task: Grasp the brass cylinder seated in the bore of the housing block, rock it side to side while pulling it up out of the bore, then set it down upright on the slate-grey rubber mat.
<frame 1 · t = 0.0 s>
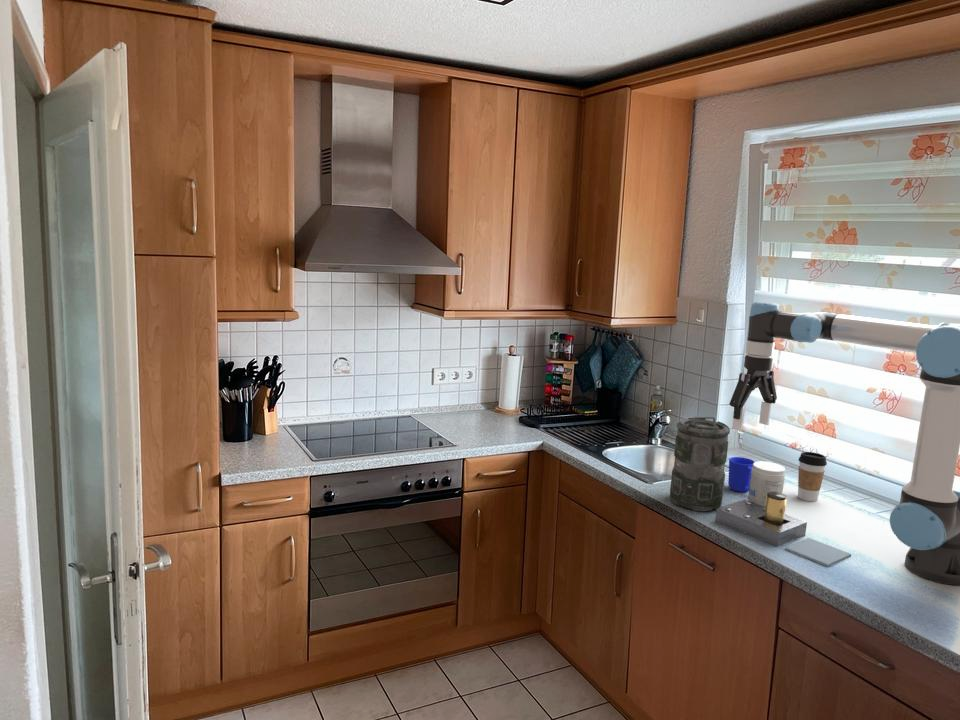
hand: (750, 426, 211), 28 cm above the worktop, fingers open, 13 cm apart
mug: (742, 492, 238), on the worktop
canister: (695, 503, 225), on the worktop
cylinder: (772, 531, 204), resting on housing
mat: (817, 552, 193), on the worktop
coffee cup: (807, 498, 234), on the worktop
housing: (759, 528, 207), on the worktop
supplement tub: (763, 512, 221), on the worktop
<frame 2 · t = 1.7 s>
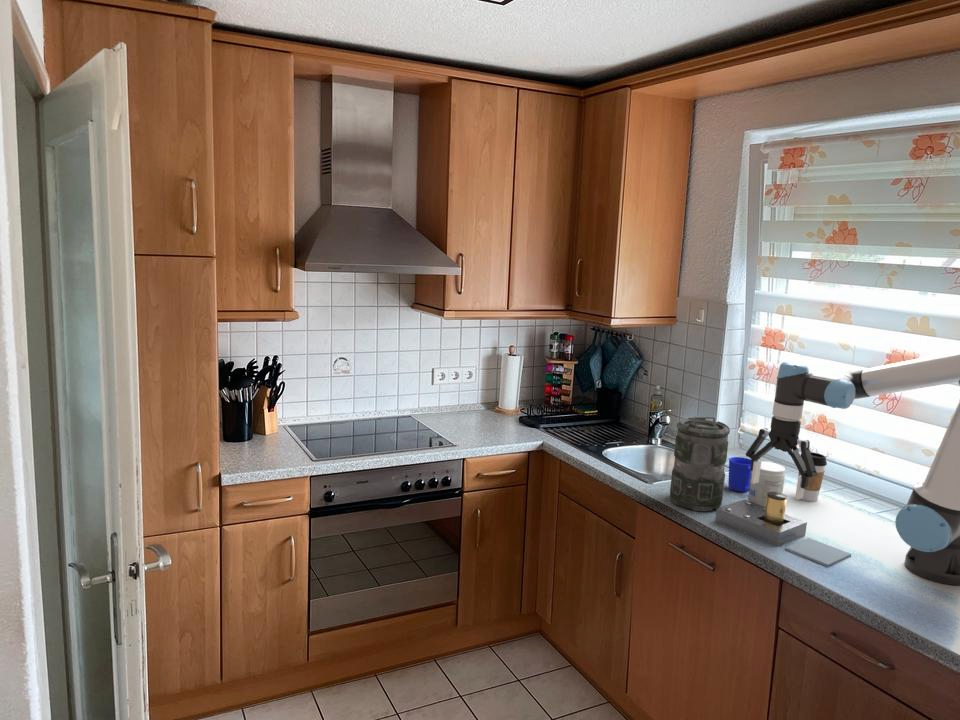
hand: (776, 490, 202), 13 cm above the worktop, fingers open, 13 cm apart
nothing on the worktop moved.
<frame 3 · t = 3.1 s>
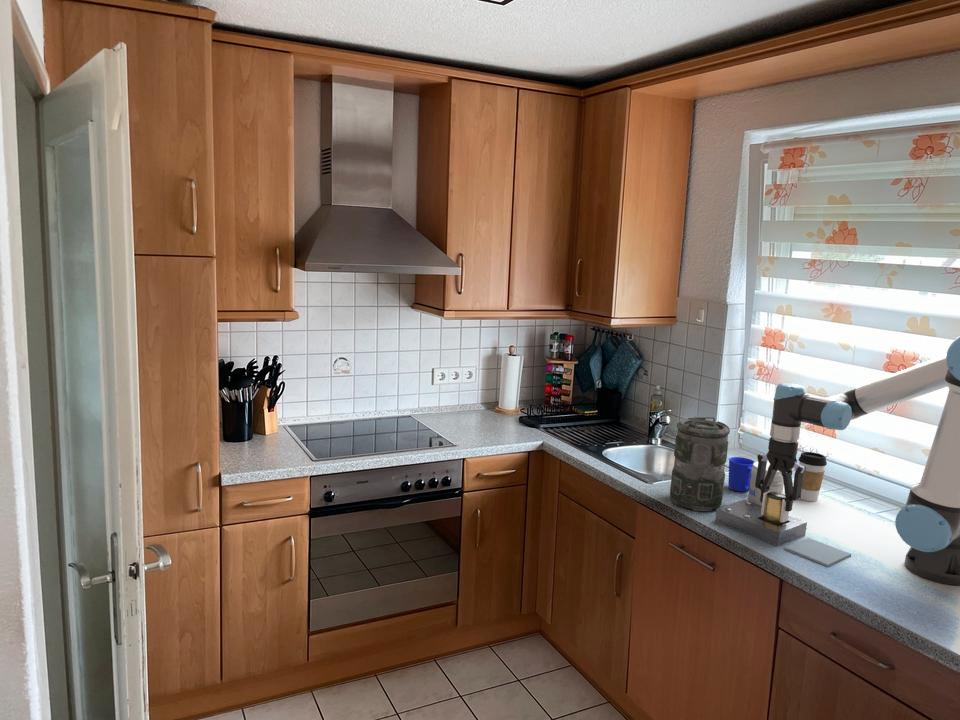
hand: (774, 517, 203), 5 cm above the worktop, fingers closed on cylinder, 5 cm apart
cylinder: (772, 531, 204), point 1 cm above the worktop, touching gripper, housing
everything else where it was.
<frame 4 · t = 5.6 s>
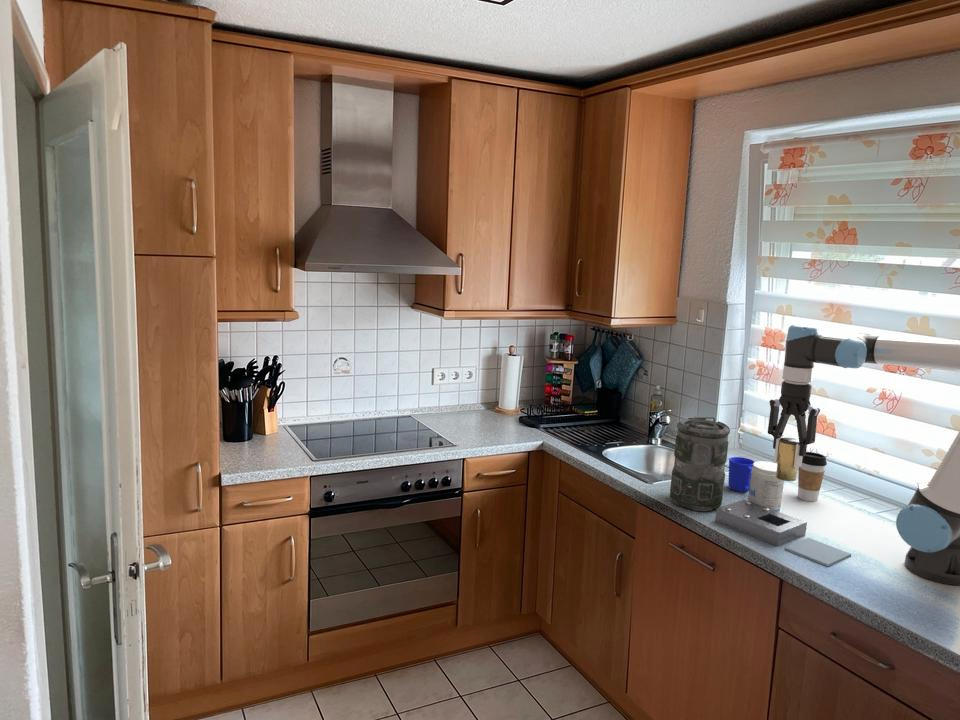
hand: (787, 463, 199), 21 cm above the worktop, fingers closed on cylinder, 5 cm apart
cylinder: (785, 478, 200), point 17 cm above the worktop, touching gripper
everything else where it was.
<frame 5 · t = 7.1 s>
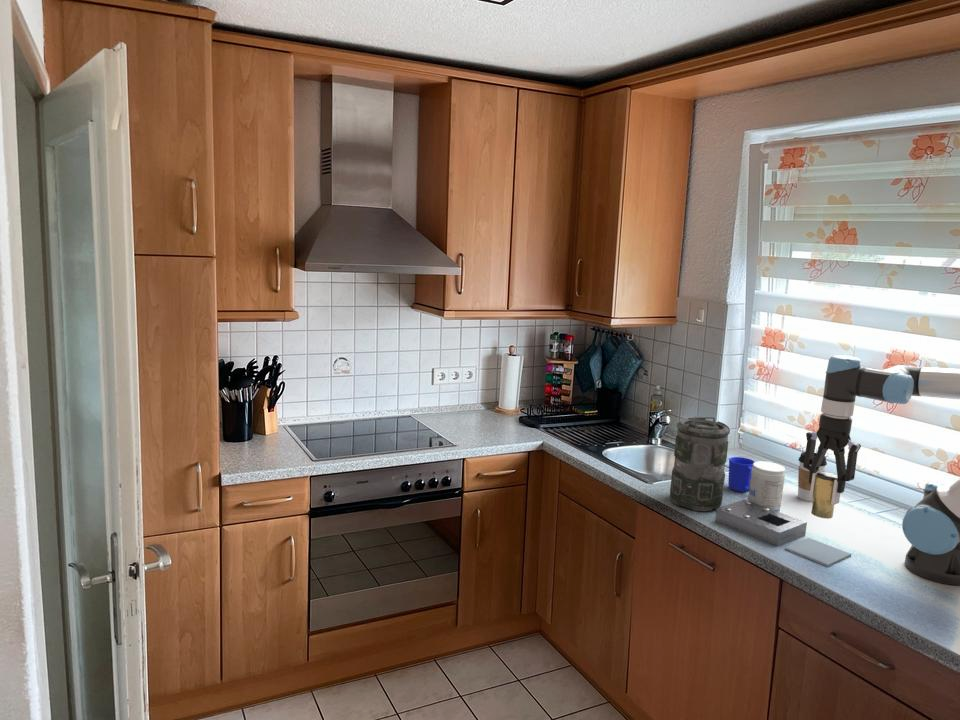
hand: (824, 499, 190), 15 cm above the worktop, fingers closed on cylinder, 5 cm apart
cylinder: (821, 514, 191), point 11 cm above the worktop, touching gripper
everything else where it was.
when the fingers open (6 cm above the worktop, at t = 8.3 s): cylinder drops 1 cm, resting on mat.
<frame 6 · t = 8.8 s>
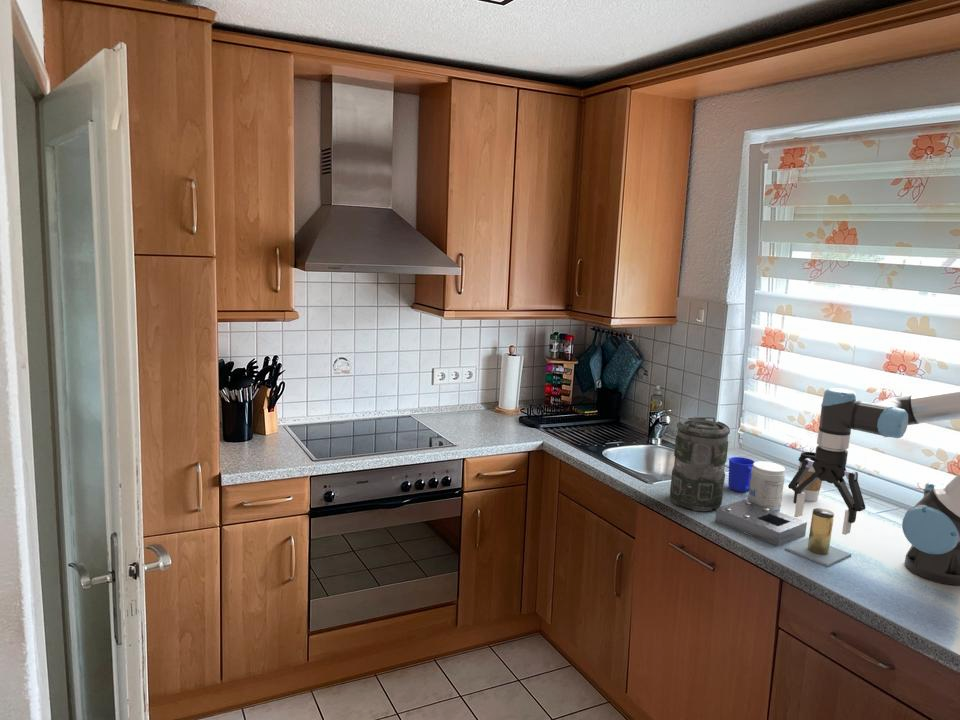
hand: (821, 524, 191), 8 cm above the worktop, fingers open, 12 cm apart
cylinder: (817, 550, 193), point 1 cm above the worktop, touching mat
everything else where it was.
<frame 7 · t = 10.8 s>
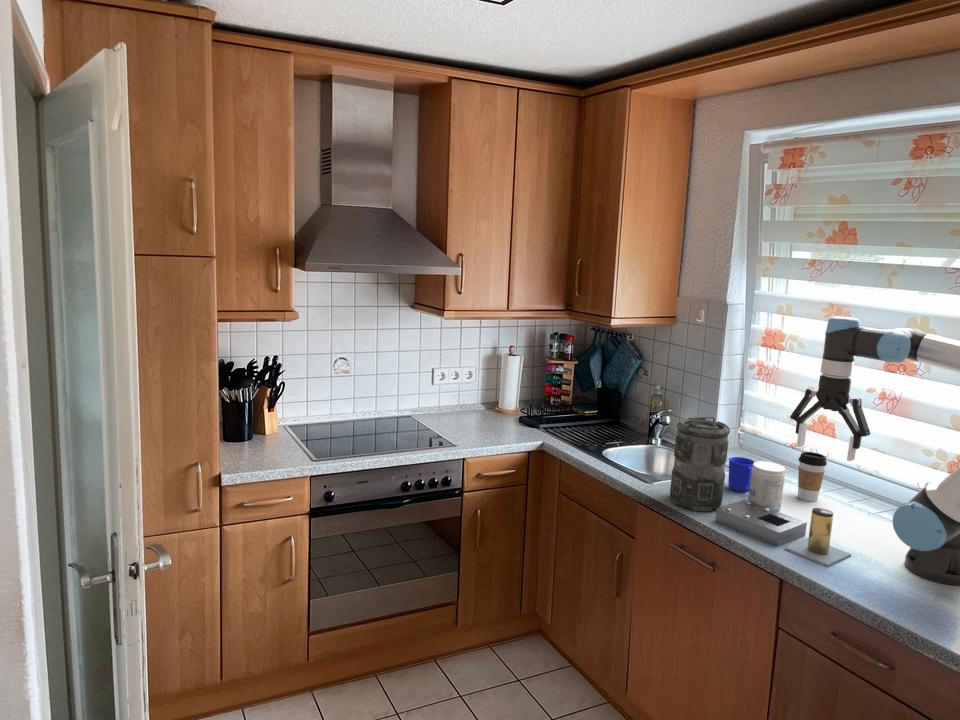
hand: (824, 453, 192), 27 cm above the worktop, fingers open, 13 cm apart
nothing on the worktop moved.
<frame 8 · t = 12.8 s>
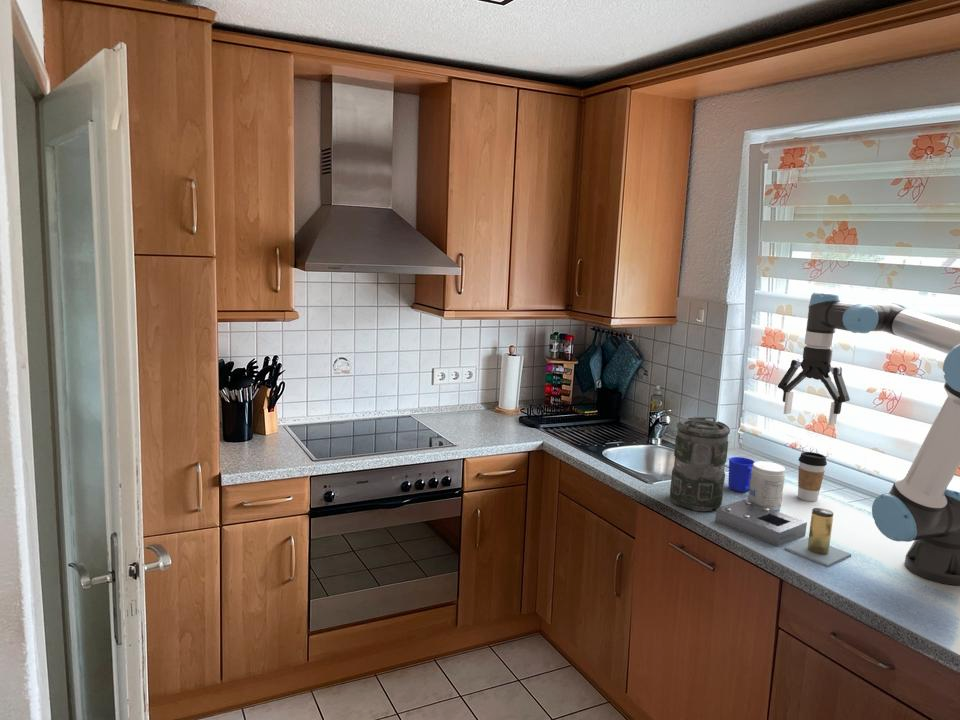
hand: (809, 419, 208), 32 cm above the worktop, fingers open, 13 cm apart
nothing on the worktop moved.
at the end: cylinder inside the target area on the mat (0.0 cm from its centre), point 0.7 cm above the mat's base; cylinder tilted 1°; the gripper is holding nothing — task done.
